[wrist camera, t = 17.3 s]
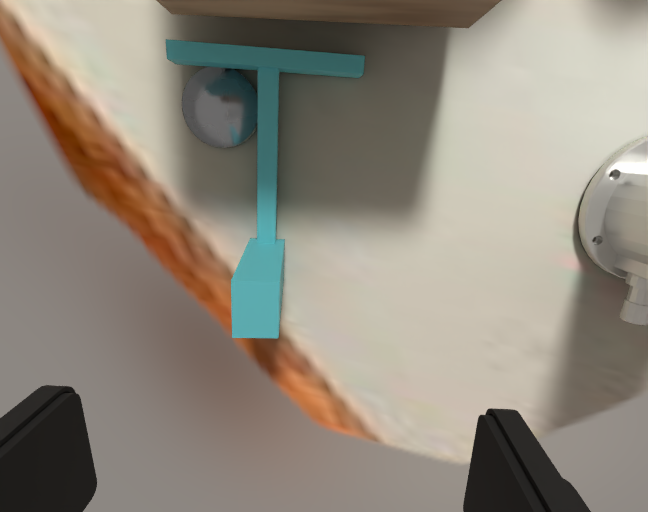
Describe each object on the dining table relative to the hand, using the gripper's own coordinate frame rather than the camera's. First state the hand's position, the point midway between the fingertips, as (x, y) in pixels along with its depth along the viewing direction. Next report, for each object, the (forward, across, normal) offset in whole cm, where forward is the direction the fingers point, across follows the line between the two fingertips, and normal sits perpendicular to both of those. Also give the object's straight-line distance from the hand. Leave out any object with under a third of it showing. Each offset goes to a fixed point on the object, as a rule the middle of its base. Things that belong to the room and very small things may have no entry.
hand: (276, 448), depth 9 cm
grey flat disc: (+25, +8, -10) cm, 28 cm away
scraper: (+24, +5, -4) cm, 25 cm away
